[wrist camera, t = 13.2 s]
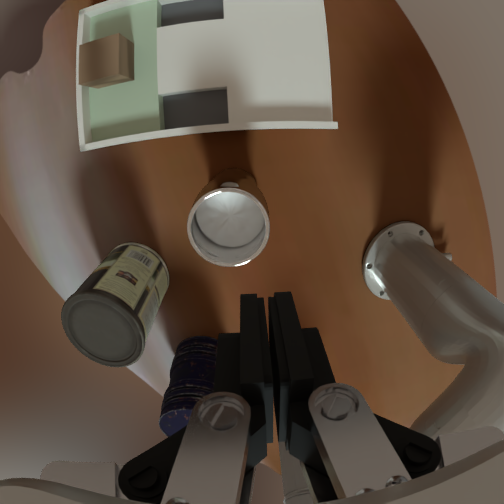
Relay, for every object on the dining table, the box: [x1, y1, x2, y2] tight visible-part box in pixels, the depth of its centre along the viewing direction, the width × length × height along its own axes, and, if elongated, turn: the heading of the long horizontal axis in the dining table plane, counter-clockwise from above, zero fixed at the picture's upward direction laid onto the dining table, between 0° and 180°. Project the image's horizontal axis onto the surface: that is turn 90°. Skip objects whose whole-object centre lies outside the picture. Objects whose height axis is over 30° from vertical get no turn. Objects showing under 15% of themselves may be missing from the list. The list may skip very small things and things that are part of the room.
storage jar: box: [159, 336, 218, 437], centre depth 41 cm, size 10×10×15 cm
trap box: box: [76, 0, 338, 152], centre depth 28 cm, size 30×20×4 cm, turn 93°
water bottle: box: [278, 442, 314, 504], centre depth 43 cm, size 9×8×25 cm
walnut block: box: [79, 33, 135, 89], centre depth 26 cm, size 5×5×5 cm
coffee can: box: [61, 242, 169, 367], centre depth 35 cm, size 10×10×14 cm
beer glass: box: [187, 168, 270, 267], centre depth 30 cm, size 7×7×15 cm
